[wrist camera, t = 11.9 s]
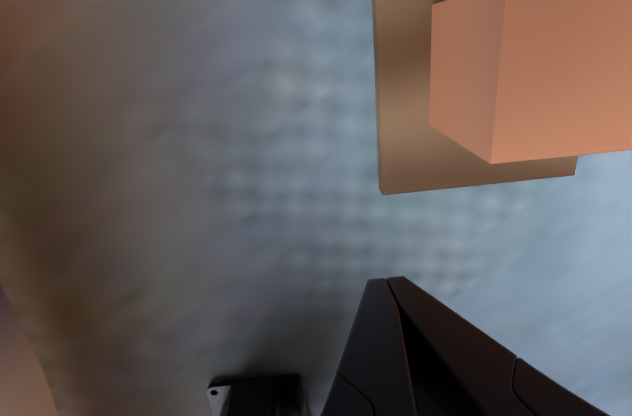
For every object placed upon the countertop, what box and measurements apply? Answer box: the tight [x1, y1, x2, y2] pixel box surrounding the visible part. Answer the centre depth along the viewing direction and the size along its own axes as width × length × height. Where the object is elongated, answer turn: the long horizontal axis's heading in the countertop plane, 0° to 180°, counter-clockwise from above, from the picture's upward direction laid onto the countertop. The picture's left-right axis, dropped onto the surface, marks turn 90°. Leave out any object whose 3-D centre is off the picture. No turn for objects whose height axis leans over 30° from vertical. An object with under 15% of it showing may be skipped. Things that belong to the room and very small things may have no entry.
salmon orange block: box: [429, 0, 632, 164], centre depth 14 cm, size 5×5×7 cm
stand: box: [372, 0, 578, 195], centre depth 15 cm, size 12×10×7 cm
